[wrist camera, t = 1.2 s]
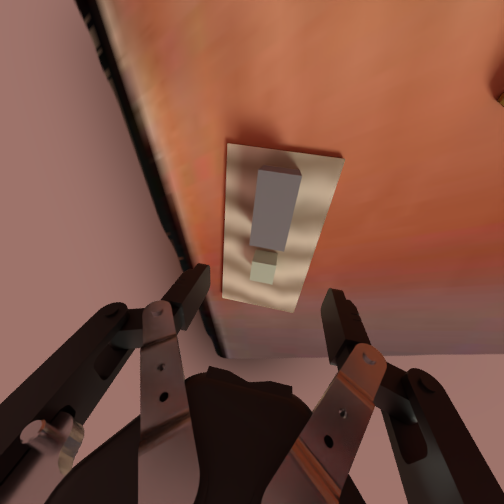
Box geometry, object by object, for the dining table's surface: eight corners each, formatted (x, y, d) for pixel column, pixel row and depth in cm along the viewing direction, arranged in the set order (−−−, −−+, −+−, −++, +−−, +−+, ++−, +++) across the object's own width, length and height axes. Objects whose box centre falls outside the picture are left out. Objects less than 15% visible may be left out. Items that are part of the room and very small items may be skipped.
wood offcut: (255, 249, 33) (252, 261, 30) (277, 253, 33) (276, 265, 30) (253, 267, 35) (249, 280, 32) (273, 270, 35) (272, 284, 32)
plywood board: (229, 143, 26) (227, 143, 26) (343, 158, 25) (345, 159, 24) (223, 294, 42) (222, 297, 41) (293, 309, 41) (293, 312, 40)
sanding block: (264, 164, 26) (258, 169, 21) (299, 169, 26) (302, 176, 20) (255, 228, 31) (249, 245, 26) (285, 233, 31) (284, 251, 26)
